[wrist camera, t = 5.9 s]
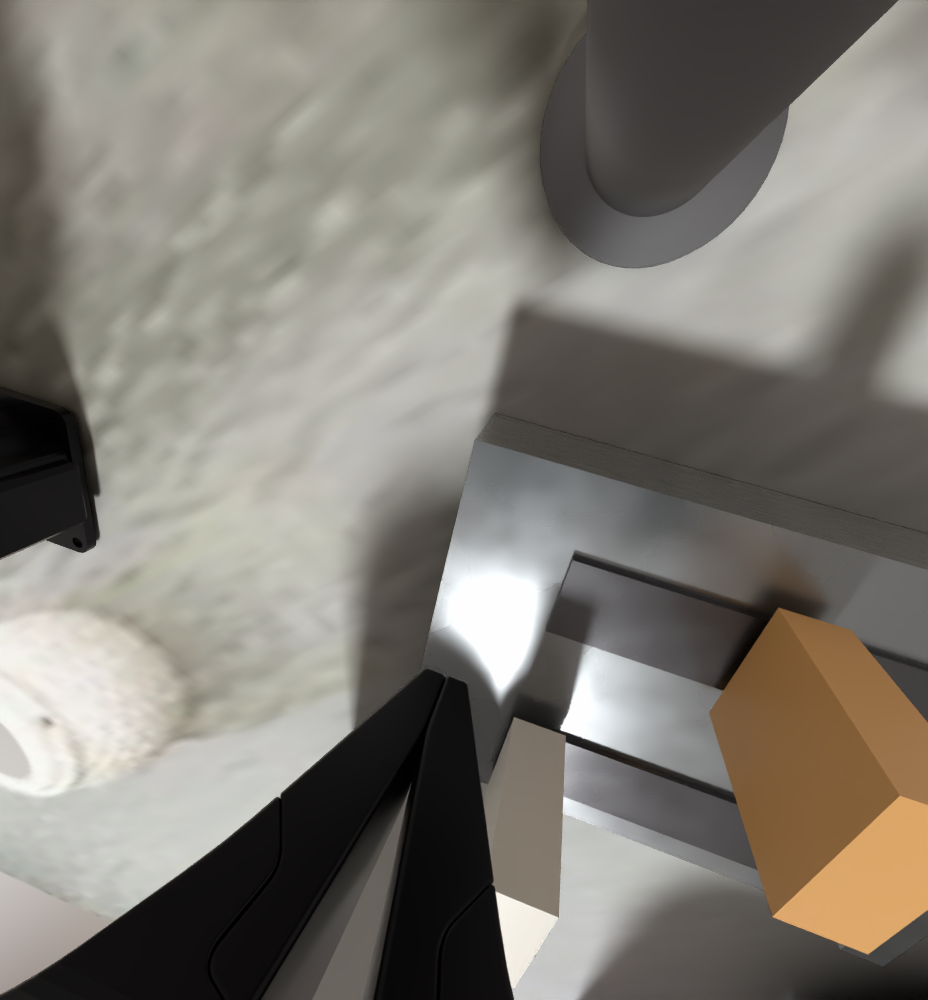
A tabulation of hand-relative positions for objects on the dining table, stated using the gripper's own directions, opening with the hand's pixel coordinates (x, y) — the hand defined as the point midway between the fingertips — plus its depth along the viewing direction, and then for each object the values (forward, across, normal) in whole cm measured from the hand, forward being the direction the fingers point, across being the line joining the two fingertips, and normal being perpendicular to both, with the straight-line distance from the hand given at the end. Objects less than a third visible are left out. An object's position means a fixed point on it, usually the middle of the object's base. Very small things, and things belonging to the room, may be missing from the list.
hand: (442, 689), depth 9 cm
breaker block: (+7, -7, +2) cm, 10 cm away
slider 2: (+4, -7, 0) cm, 8 cm away
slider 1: (+4, -3, +6) cm, 8 cm away
